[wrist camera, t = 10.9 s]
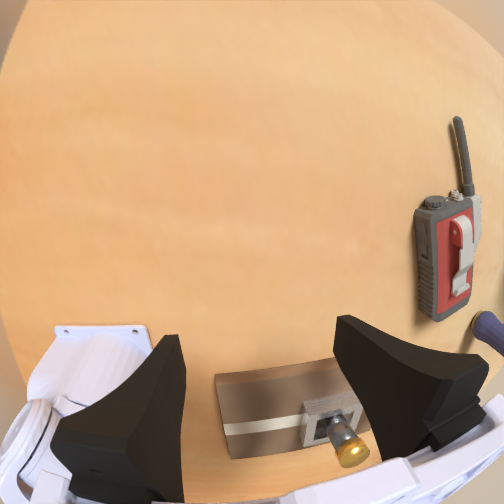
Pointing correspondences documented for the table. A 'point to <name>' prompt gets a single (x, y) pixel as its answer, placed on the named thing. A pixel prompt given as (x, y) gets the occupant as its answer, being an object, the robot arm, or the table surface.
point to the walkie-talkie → (448, 242)
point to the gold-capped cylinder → (345, 441)
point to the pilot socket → (327, 415)
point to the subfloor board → (275, 405)
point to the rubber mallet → (489, 330)
